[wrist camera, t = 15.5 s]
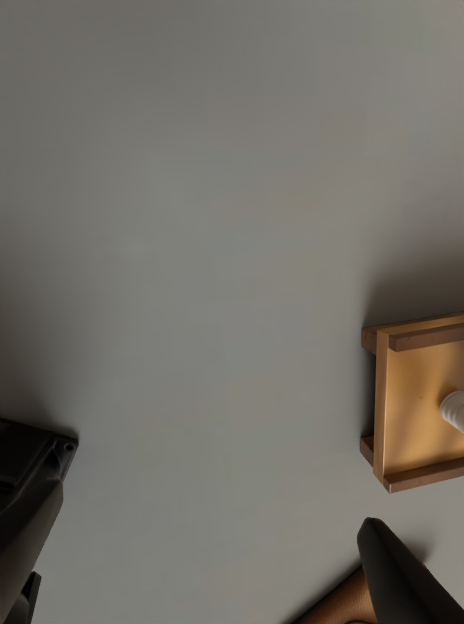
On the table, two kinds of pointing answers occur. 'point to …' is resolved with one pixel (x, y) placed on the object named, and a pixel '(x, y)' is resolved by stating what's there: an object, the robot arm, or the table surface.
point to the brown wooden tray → (415, 401)
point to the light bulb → (453, 409)
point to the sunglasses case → (344, 604)
